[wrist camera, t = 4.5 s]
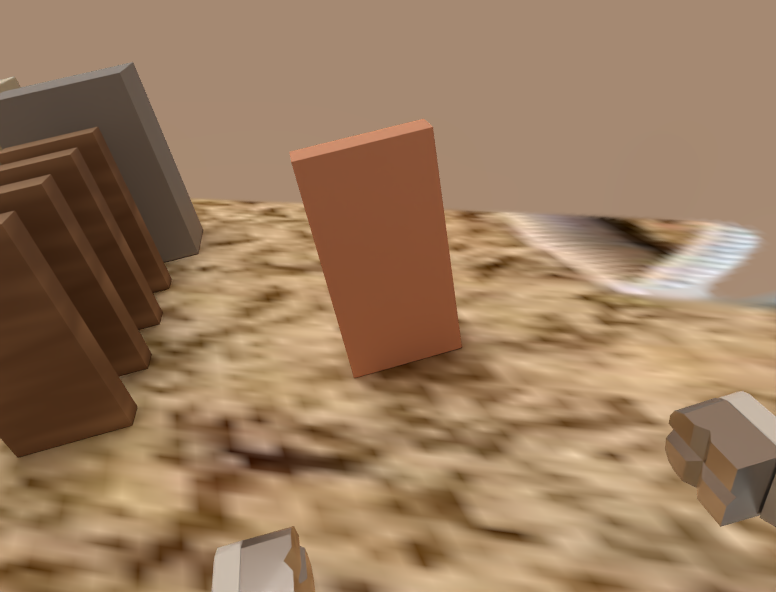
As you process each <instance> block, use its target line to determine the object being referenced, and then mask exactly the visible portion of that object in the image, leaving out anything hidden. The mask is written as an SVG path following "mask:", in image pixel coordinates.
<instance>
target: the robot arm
mask: <svg viewBox="0 0 776 592" xmlns="http://www.w3.org/2000/svg"><path fill="white" fill-rule="evenodd" d="M669 424H670V426H671V427H672V428H673V431H672V432H671V433H670V434H669V435H668V436H667V438H666V444H665V451H666V454H667V457H668V461H669V463H670V464H671V466H672V468H673V470H674V471H675V472H676V474H677V475H678V476H679V477H680V479H681V480H682V481H683V482H686V483H688V484H690V485H692V486H694V487H696V488H697V499H698V500H699V502H700V503H701V504H702V505H703V506H704V508H705V509H706V510H707V511H708V512H709V514H710V515H711V516H712V517H713V518H714V520H715V521H716V522H717V523H718V524H719V525H720V527H721V526H724V525H728V524H731V523H734V522H738V521H741V520H745V519H748V518H752V517H755V516H759V515H760V518H761V519H763V520H765V521H766V522H768V523H770V524H772V525H773V526H775V527H776V416H774V415H773V414H772V413H771V412H770V411H769V410H767V409H766V408H765V407H764V406H763V405H762V404H760V403H759V402H758V401H757V400H756V399H755V398H753V397H752V396H751V395H750V394H748V393H745V392H743V391H740V392H735V393H732V394H729V395H726V396H723V397H720V398H714V399H711V400H707V401H704V402H701V403H698V404H695V405H692V406H689V407H686V408H682V409H679V410H676V411H674V412H673V413H672V414H671V415H670V420H669ZM212 592H315V586H314V578H313V573H312V568H311V563H310V560H309V557H308V554H307V552H306V550H305V548H304V547H301V546H300V545H299V535H298V533H297V531H296V529H295V527H294V526H292V527H289V528H285V529H282V530H278V531H275V532H271V533H268V534H264V535H261V536H257V537H254V538H250V539H247V540H242V541H239V542H236V543H232V544H229V545H226V546H222V547H219V548H217V551H216V554H215V557H214V567H213V580H212Z"/></svg>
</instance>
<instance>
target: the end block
mask: <svg viewBox="0 0 776 592" xmlns="http://www.w3.org/2000/svg"><path fill="white" fill-rule="evenodd" d="M93 127H99V129H100V132H101V134H102V136H103V138H104V140H105V142H106V144H107V146H108V148H109V150H110V152H111V154H112V156H113V158H114V161H115V163H116V165H117V167H118V169H119V171H120V173H121V175H122V177H123V179H124V181H125V183H126V185H127V187H128V190H129V192H130V194H131V196H132V198H133V200H134V202H135V204H136V206H137V208H138V210H139V212H140V214H141V217H142V219H143V221H144V223H145V225H146V227H147V229H148V231H149V233H150V235H151V237H152V239H153V241H154V243H155V246H156V248H157V250H158V252H159V254H160V256H161V258H162V260H163V262H167V261H171V260H174V259H178V258H182V257H186V256H190V255H194V254H198V252H199V247H200V242H201V237H202V232H203V229H202V226H201V224H200V221H199V219H198V217H197V214H196V212H195V209H194V207H193V205H192V202H191V200H190V197H189V195H188V193H187V190H186V188H185V185H184V183H183V181H182V178H181V176H180V173H179V171H178V169H177V166H176V164H175V162H174V159H173V157H172V154H171V152H170V149H169V147H168V145H167V142H166V140H165V137H164V135H163V133H162V130H161V128H160V125H159V123H158V121H157V118H156V116H155V114H154V111H153V109H152V106H151V104H150V102H149V99H148V97H147V94H146V92H145V90H144V87H143V85H142V82H141V80H140V78H139V75H138V73H137V71H136V68H135V66H134V63H133V62H132V63H127V64H123V65H118V66H114V67H110V68H105V69H101V70H96V71H92V72H88V73H83V74H79V75H74V76H70V77H65V78H61V79H57V80H52V81H48V82H43V83H39V84H35V85H30V86H26V87H21V88H17V89H12V90H8V91H4V92H2V93H0V146H1V148H2V149H4V148H8V147H12V146H17V145H21V144H25V143H29V142H34V141H38V140H42V139H46V138H51V137H55V136H59V135H64V134H68V133H72V132H76V131H81V130H85V129H89V128H93Z"/></svg>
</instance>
